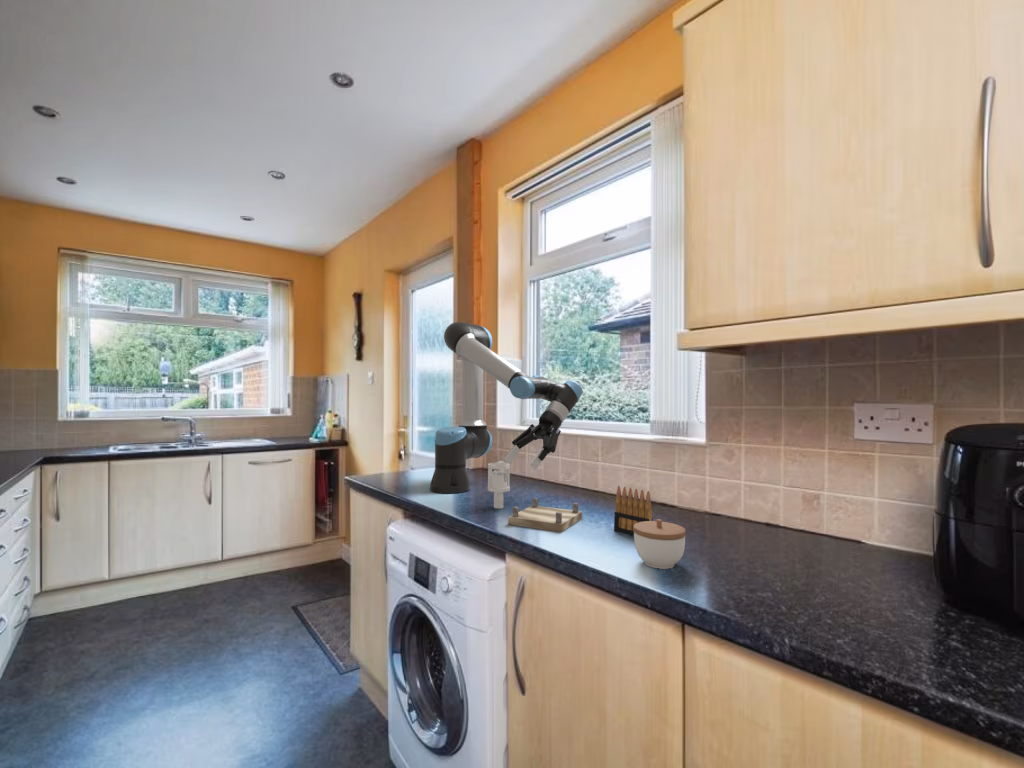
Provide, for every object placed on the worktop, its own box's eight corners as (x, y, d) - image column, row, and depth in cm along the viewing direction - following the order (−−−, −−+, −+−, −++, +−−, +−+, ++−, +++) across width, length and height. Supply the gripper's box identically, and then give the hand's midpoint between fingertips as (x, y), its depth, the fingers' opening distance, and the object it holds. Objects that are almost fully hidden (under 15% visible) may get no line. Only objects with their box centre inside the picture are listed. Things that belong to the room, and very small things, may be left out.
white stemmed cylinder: (491, 510, 147) (492, 462, 147) (484, 505, 153) (485, 459, 154) (512, 508, 149) (513, 461, 150) (504, 504, 156) (505, 458, 156)
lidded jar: (694, 564, 101) (694, 519, 101) (671, 577, 93) (671, 529, 94) (648, 552, 108) (648, 511, 109) (623, 563, 101) (623, 519, 101)
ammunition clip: (653, 538, 119) (653, 490, 119) (649, 540, 118) (649, 491, 118) (617, 529, 127) (617, 484, 127) (613, 530, 126) (613, 485, 126)
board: (532, 511, 146) (532, 497, 146) (582, 518, 138) (582, 502, 138) (508, 524, 131) (508, 507, 132) (561, 532, 124) (561, 514, 124)
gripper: (584, 426, 156) (551, 476, 146) (536, 422, 176) (503, 467, 166) (573, 410, 153) (537, 461, 143) (524, 408, 173) (491, 453, 163)
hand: (519, 464), depth 155 cm, fingers open, 13 cm apart
